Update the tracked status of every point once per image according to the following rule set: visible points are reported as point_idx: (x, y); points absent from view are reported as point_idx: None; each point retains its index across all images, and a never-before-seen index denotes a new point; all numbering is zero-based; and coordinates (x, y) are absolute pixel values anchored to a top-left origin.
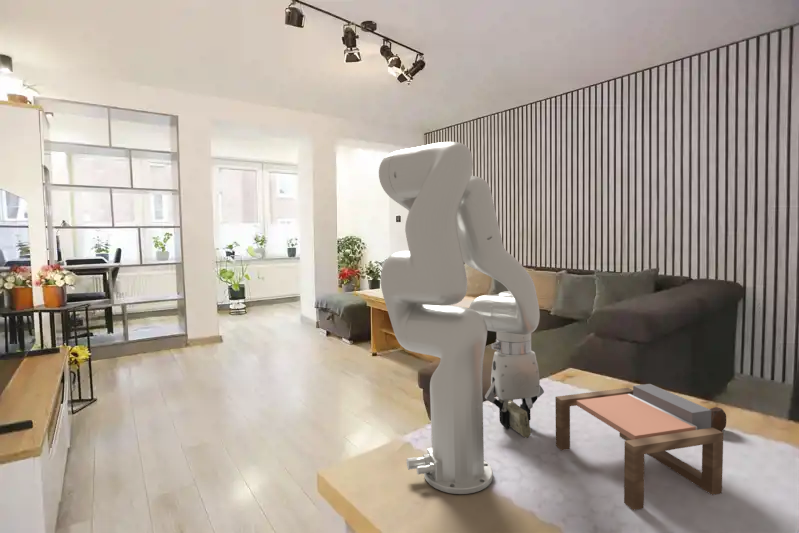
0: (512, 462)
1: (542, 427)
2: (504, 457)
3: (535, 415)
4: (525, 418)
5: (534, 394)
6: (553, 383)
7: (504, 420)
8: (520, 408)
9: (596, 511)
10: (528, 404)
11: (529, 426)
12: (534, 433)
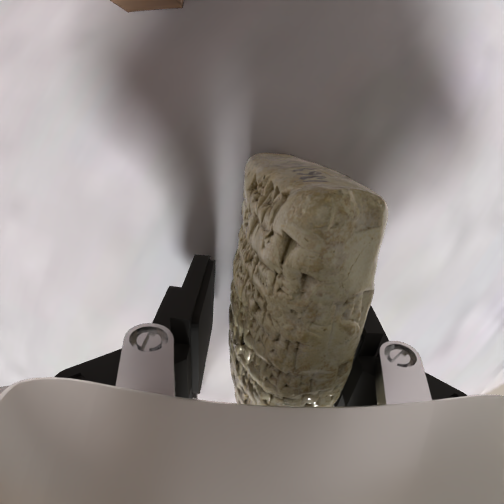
0: (483, 2)
1: (119, 234)
2: (495, 50)
3: (101, 349)
4: (313, 178)
5: (66, 396)
6: None
7: None
8: (316, 299)
9: None
10: (163, 353)
11: (262, 164)
12: (203, 184)
